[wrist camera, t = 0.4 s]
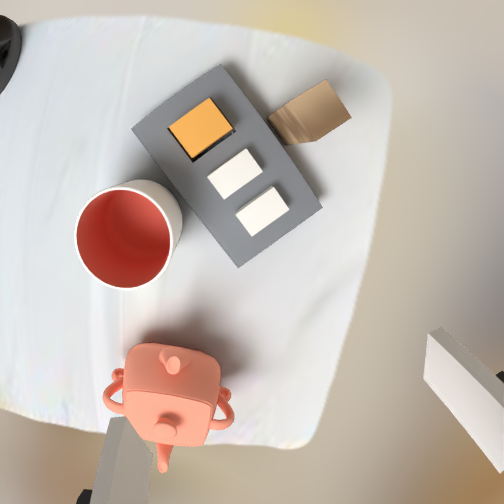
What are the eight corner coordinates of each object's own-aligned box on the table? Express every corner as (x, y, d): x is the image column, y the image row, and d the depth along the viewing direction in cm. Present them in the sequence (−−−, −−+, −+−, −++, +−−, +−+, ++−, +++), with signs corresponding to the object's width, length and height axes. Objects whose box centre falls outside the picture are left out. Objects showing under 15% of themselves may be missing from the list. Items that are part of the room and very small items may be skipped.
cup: (93, 198, 36) (58, 212, 27) (165, 165, 36) (148, 168, 27) (125, 270, 39) (101, 303, 30) (196, 242, 39) (190, 270, 30)
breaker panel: (137, 130, 34) (127, 127, 30) (220, 70, 33) (220, 60, 29) (236, 260, 40) (239, 272, 36) (315, 203, 39) (327, 209, 35)
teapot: (184, 304, 41) (174, 360, 29) (246, 386, 46) (256, 448, 34) (102, 349, 42) (74, 405, 30) (168, 420, 47) (161, 479, 35)
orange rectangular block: (172, 129, 33) (168, 127, 30) (209, 103, 33) (209, 97, 29) (194, 157, 34) (191, 157, 31) (231, 131, 34) (232, 128, 31)
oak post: (266, 118, 36) (288, 101, 24) (293, 100, 35) (326, 79, 24) (285, 145, 37) (316, 141, 26) (311, 127, 37) (351, 117, 25)
